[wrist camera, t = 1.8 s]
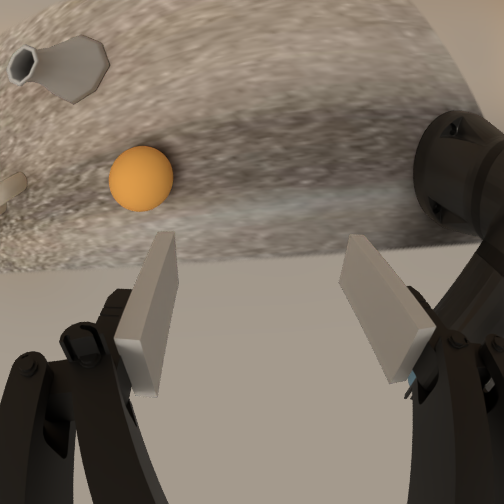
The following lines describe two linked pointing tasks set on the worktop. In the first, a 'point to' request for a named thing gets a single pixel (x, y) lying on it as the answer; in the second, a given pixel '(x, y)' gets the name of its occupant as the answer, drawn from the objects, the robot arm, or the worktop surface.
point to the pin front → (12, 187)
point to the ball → (141, 178)
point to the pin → (3, 208)
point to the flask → (61, 67)
